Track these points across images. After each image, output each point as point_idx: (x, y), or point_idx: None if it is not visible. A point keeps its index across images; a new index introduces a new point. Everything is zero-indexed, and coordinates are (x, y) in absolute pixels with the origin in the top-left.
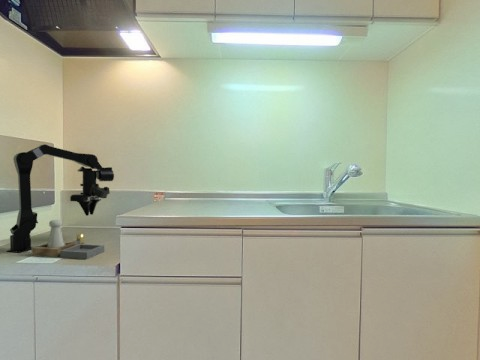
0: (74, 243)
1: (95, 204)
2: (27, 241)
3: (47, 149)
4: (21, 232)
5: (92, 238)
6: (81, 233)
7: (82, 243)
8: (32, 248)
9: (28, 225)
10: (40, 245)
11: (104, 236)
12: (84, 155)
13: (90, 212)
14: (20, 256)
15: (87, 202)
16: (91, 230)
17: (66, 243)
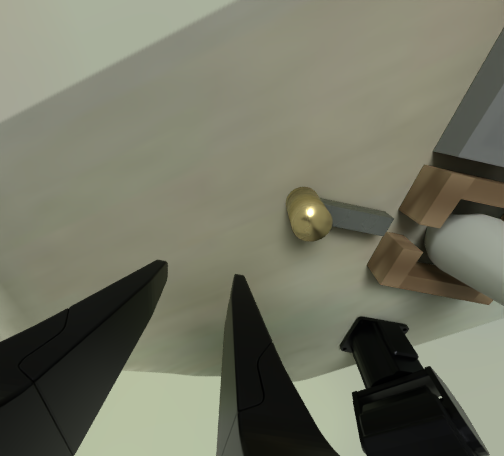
0: (473, 179)
1: (17, 359)
2: (407, 347)
3: None
4: (452, 397)
5: (185, 194)
6: (300, 222)
7: (312, 189)
8: (487, 302)
9: (467, 422)
10: (453, 297)
11: (126, 150)
12: None
13: (158, 294)
14: (457, 307)
15: None
16: (34, 263)
17: (441, 222)
